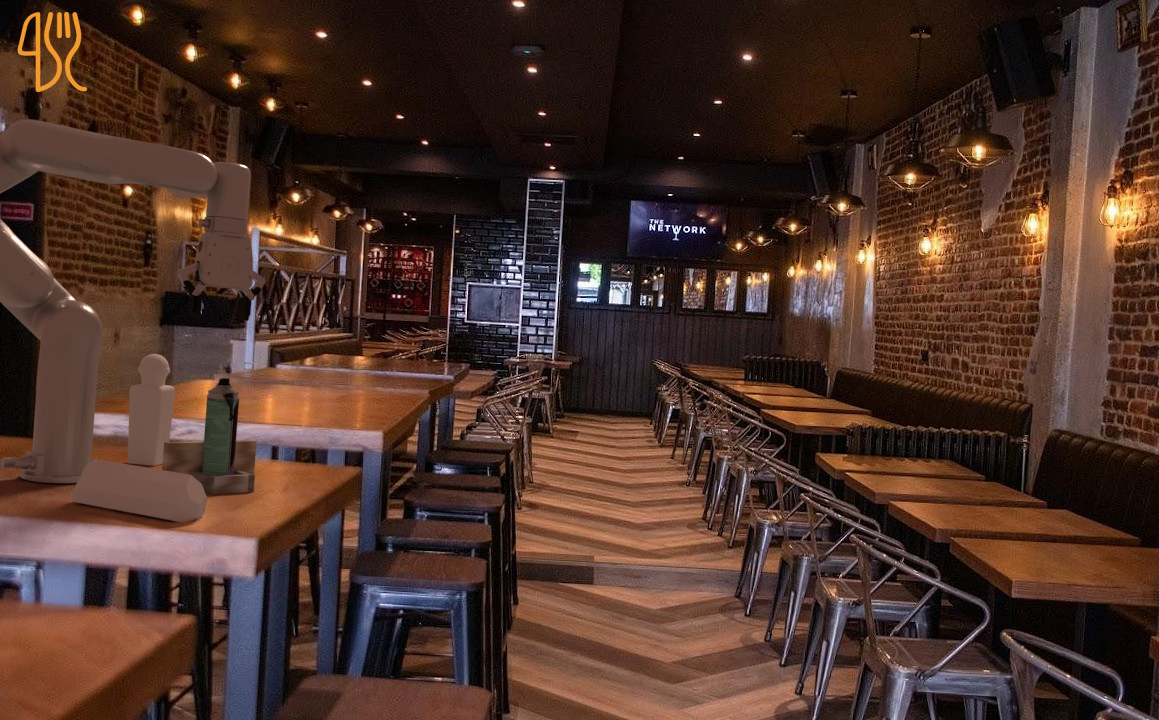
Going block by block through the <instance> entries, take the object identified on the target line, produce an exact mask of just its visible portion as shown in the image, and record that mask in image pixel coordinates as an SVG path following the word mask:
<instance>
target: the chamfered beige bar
mask: <svg viewBox="0 0 1159 720" xmlns="http://www.w3.org/2000/svg"><path fill="white" fill-rule="evenodd" d="M72 502H73V503H76V504H80V505H81V504H82V505H87V506H92V507H97V508H101V507H102V508H103V509H107V510H112V511H114V510H115V511H118V512H123V513H128V514H135V515H139V516H144V517H149V518H154V519H160V520H161V519H162V520H165V521H170V522H176V523H186V522H193V521H197V520H199V519H201V518H202V517H203V516H204V514H205V512H206V508H207V504H208V498H207V494H205V492H204V489H203V486H202V484H201V483H200V482H199V481H198V480H196V479H195V478H194V477H193V476H191V475H189V474H183V473H177V472H171V471H165V470H162V469H160V468H159V469H158V468H157V469H156V468H152V467H146V466H142V465H136V464H128V463H121V462H115V461H109V460H103V459H98V458H97V459H96V458H94V459H91V462H90V463H88V464H87V465H86V467H85V469H84V470H83V472H82V474H81V476H80V478H79V480H78V482H77V483H75V486H74V488H73V490H72Z"/></svg>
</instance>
